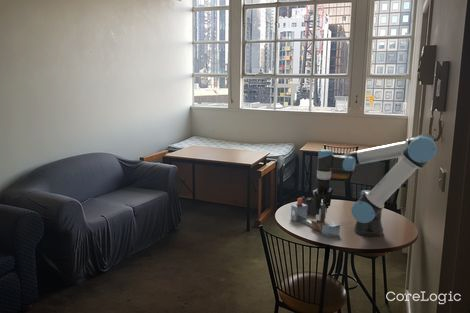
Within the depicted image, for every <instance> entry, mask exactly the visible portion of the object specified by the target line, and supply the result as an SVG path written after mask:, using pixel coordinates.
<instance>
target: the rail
mask: <svg viewBox="0 0 470 313" xmlns="http://www.w3.org/2000/svg"><path fill="white" fill-rule="evenodd" d="M307 207H308V205H305V204H303V203H302V206H297V203H296V204H291V208H290V220H291V221H292V222H295V223H298V222H299V223H302V224H304V225H307V227H311V228H312V225H311V221H312V220H310V219H308V214H307ZM340 233H341V225H340V224H339V223H337V222H334V221H333V222H328V223H327V224H322V233H321V235H322V236H323V237H325V238H326V239H331V238H335V237H339V236H340Z"/></svg>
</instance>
